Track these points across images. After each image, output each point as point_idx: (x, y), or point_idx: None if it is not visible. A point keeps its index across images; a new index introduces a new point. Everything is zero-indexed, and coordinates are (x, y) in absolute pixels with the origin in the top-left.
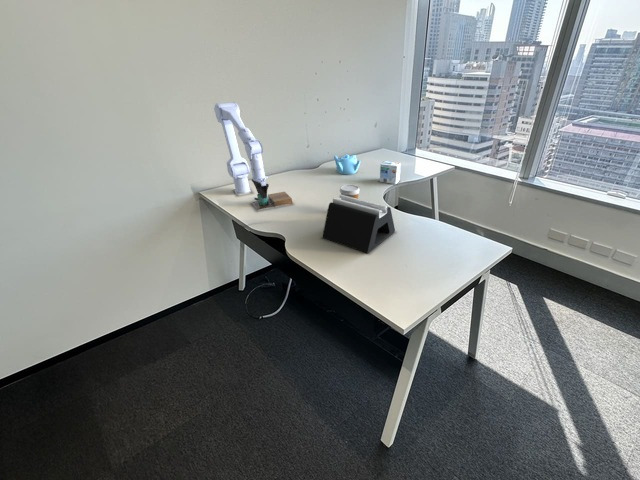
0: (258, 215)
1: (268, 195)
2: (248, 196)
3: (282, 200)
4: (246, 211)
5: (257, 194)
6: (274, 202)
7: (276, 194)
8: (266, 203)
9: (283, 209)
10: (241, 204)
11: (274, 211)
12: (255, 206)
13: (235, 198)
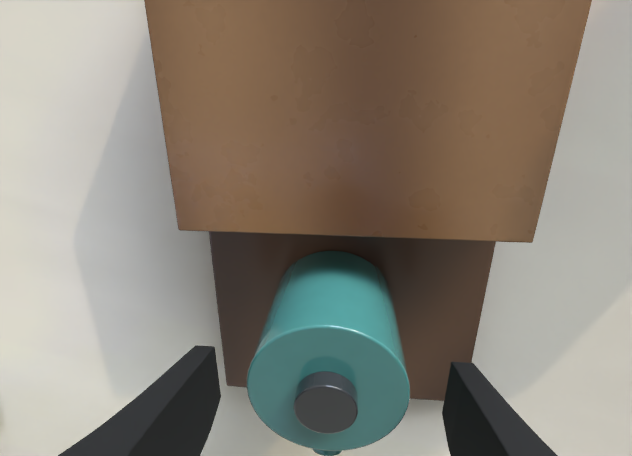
0: (563, 406)
1: (207, 229)
2: (28, 344)
3: (567, 96)
4: (398, 451)
5: (290, 439)
6: (525, 236)
7: (229, 104)
8: (391, 295)
9: (621, 129)
10: (216, 438)
11: (591, 251)
12: None
13: (56, 437)
